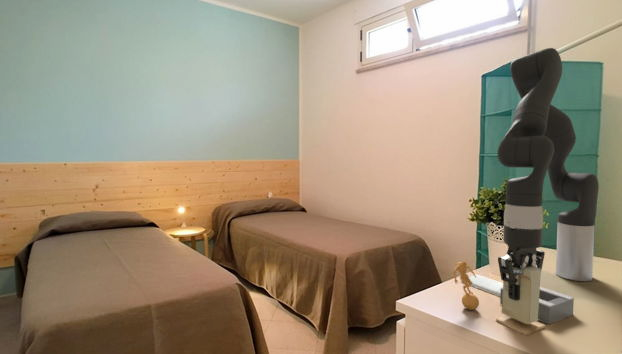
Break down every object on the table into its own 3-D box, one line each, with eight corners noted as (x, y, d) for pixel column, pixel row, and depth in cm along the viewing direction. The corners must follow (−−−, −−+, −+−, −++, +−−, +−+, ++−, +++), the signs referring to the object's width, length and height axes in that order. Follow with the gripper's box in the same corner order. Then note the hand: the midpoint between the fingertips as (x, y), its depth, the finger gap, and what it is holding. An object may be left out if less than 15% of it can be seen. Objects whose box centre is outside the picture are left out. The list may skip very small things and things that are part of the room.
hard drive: (460, 278, 104) (500, 292, 93) (477, 274, 108) (517, 286, 97) (460, 284, 104) (500, 298, 93) (477, 279, 108) (517, 292, 97)
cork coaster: (514, 314, 82) (514, 312, 82) (545, 327, 76) (545, 324, 76) (496, 321, 79) (496, 318, 79) (526, 335, 73) (526, 332, 73)
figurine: (467, 316, 82) (468, 268, 81) (446, 307, 87) (446, 261, 86) (487, 308, 86) (488, 262, 85) (465, 299, 91) (466, 256, 90)
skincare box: (501, 313, 79) (502, 263, 79) (512, 309, 82) (513, 260, 81) (528, 325, 74) (530, 271, 73) (539, 320, 76) (541, 268, 75)
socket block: (523, 296, 93) (524, 281, 93) (573, 314, 82) (573, 297, 82) (500, 303, 88) (500, 287, 88) (549, 323, 78) (549, 306, 77)
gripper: (525, 218, 83) (523, 286, 84) (486, 224, 77) (485, 297, 78) (558, 224, 76) (556, 297, 77) (519, 230, 70) (517, 310, 71)
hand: (520, 296), depth 77 cm, fingers closed on skincare box, 4 cm apart
